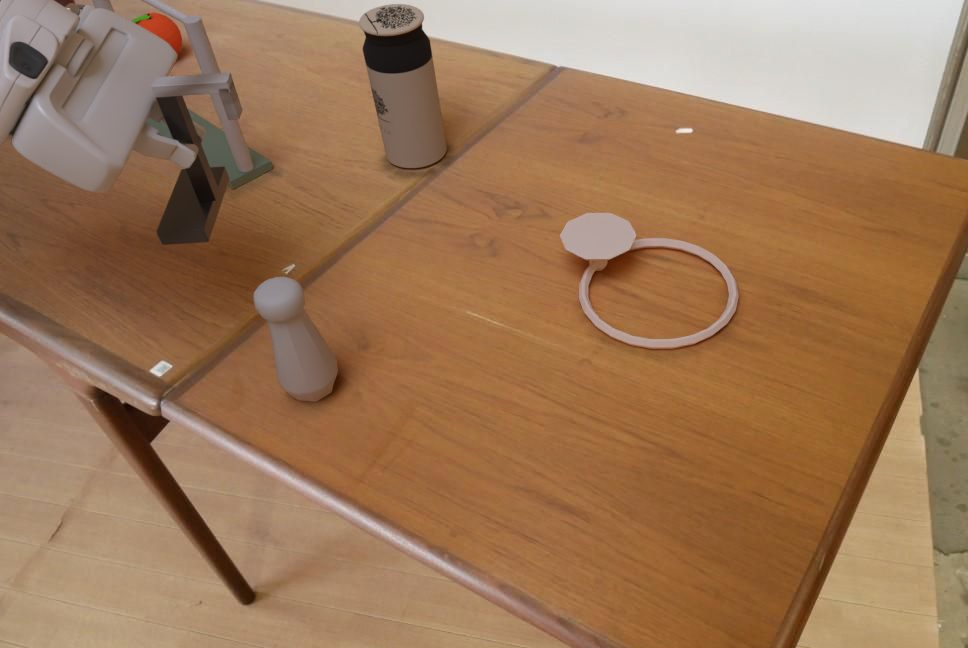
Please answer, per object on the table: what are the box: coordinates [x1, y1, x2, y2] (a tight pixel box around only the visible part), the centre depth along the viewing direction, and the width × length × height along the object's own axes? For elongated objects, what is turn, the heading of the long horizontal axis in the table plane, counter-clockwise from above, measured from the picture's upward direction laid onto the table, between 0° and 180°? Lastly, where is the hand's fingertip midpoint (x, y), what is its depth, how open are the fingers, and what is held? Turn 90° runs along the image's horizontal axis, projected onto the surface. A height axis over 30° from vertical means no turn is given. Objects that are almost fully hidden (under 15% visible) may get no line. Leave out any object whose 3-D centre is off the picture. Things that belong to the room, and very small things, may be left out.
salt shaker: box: [253, 276, 339, 403], centre depth 78 cm, size 6×6×13 cm
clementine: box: [131, 12, 183, 55], centre depth 128 cm, size 8×7×7 cm
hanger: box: [151, 72, 244, 246], centre depth 75 cm, size 9×10×13 cm
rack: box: [91, 0, 274, 190], centre depth 107 cm, size 6×28×20 cm, turn 47°
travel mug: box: [358, 3, 448, 169], centre depth 104 cm, size 8×8×18 cm
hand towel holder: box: [559, 212, 740, 350], centre depth 89 cm, size 17×4×20 cm
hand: (197, 150), depth 75 cm, fingers closed on hanger
